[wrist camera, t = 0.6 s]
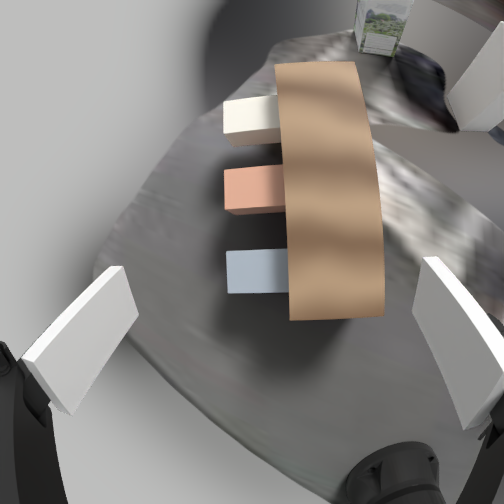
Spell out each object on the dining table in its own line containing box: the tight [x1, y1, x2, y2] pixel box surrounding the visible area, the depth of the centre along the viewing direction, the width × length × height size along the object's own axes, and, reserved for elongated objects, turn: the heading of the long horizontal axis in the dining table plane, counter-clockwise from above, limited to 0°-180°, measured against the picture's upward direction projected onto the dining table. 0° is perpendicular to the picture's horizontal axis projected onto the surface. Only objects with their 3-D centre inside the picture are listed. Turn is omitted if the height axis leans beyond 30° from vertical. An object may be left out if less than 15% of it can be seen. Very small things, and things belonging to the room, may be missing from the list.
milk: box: [447, 21, 504, 132], centre depth 19 cm, size 6×6×22 cm
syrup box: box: [354, 0, 414, 57], centre depth 25 cm, size 6×6×14 cm
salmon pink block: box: [224, 164, 286, 215], centre depth 29 cm, size 4×9×4 cm, turn 92°
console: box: [275, 61, 385, 320], centre depth 28 cm, size 24×8×11 cm, turn 2°
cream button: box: [224, 95, 281, 147], centre depth 29 cm, size 4×9×4 cm, turn 92°
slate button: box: [226, 249, 289, 293], centre depth 29 cm, size 4×9×4 cm, turn 92°
